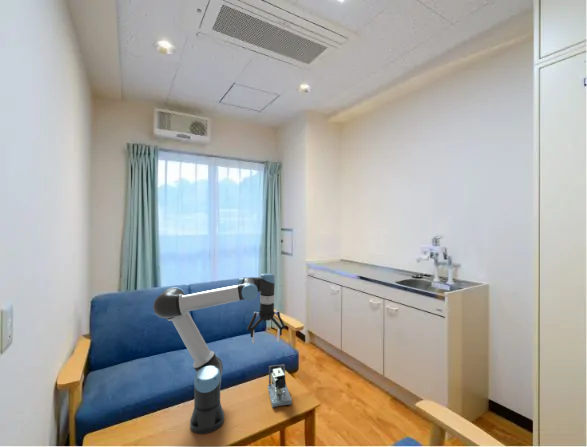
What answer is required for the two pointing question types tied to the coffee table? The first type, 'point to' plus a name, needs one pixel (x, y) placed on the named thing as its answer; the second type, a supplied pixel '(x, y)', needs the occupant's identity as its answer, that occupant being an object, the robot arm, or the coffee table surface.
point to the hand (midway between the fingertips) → (266, 342)
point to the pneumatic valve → (278, 379)
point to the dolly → (280, 398)
